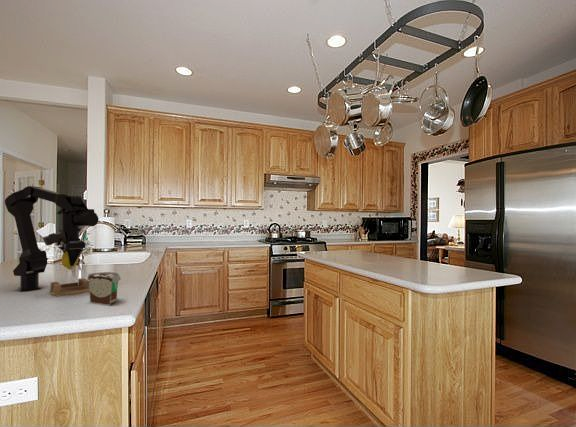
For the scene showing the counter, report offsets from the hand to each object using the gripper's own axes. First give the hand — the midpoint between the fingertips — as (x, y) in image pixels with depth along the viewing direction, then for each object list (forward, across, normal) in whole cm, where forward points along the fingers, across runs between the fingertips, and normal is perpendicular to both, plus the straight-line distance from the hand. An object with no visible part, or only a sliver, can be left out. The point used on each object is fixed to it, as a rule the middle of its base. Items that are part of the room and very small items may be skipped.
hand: (69, 264), depth 119 cm
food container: (+11, +26, +6) cm, 28 cm away
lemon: (+2, 0, 0) cm, 2 cm away
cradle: (+11, 0, 0) cm, 11 cm away
